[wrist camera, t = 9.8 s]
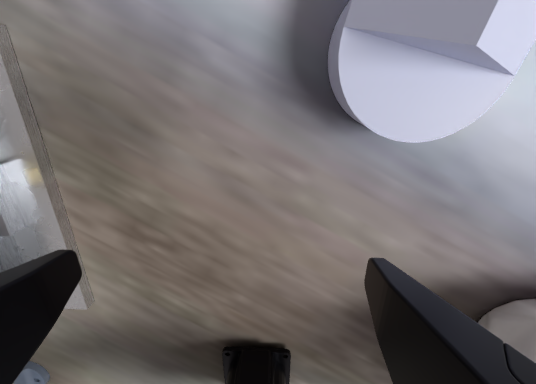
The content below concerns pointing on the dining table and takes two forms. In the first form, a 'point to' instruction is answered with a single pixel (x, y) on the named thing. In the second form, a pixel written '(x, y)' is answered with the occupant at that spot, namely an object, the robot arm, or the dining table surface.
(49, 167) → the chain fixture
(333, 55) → the wedge on round base
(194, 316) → the dining table surface
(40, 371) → the vise
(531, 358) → the vase
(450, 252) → the dining table surface
